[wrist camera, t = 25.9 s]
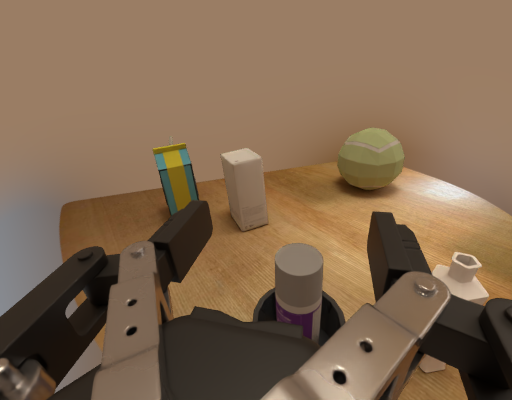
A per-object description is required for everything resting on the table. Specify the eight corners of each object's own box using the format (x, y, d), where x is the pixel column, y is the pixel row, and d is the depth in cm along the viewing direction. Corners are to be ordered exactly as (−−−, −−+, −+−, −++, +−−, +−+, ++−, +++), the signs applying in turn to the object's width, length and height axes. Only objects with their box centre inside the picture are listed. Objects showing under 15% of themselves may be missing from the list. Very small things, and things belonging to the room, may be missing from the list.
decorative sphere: (408, 185, 67) (421, 128, 60) (376, 206, 60) (387, 143, 53) (357, 170, 78) (364, 120, 71) (325, 186, 71) (328, 131, 63)
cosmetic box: (268, 224, 56) (264, 157, 49) (240, 233, 54) (231, 164, 47) (254, 207, 63) (248, 146, 56) (228, 214, 61) (219, 152, 54)
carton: (196, 200, 69) (182, 133, 60) (203, 214, 62) (188, 141, 54) (168, 208, 66) (149, 139, 58) (172, 222, 60) (151, 148, 51)
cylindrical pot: (359, 373, 29) (368, 335, 26) (283, 423, 26) (281, 387, 22) (307, 307, 37) (309, 272, 34) (244, 339, 34) (238, 303, 30)
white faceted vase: (397, 335, 33) (426, 242, 25) (435, 339, 32) (477, 245, 25) (409, 373, 29) (447, 276, 22) (453, 379, 28) (508, 281, 21)
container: (272, 362, 30) (265, 268, 23) (286, 328, 34) (283, 237, 27) (311, 380, 28) (317, 283, 21) (321, 342, 32) (329, 248, 25)
